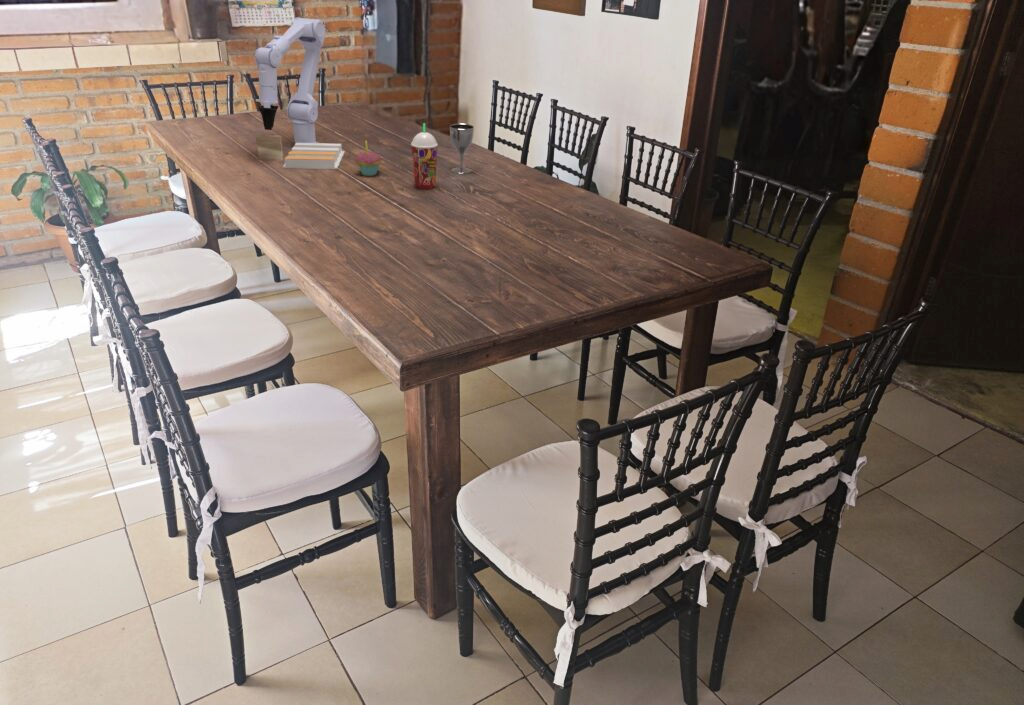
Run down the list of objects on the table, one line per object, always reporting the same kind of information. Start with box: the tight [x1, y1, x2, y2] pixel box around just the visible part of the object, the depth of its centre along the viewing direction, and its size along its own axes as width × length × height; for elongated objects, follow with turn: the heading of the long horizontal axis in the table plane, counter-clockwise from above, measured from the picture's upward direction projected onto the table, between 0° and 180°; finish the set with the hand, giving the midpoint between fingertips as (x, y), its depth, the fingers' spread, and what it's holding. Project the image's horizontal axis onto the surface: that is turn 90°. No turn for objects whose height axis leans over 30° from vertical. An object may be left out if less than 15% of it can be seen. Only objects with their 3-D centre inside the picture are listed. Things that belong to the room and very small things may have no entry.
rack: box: [282, 142, 346, 170], centre depth 262 cm, size 22×18×3 cm
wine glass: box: [449, 123, 475, 174], centre depth 256 cm, size 8×8×15 cm
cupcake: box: [355, 140, 382, 177], centre depth 248 cm, size 9×8×12 cm
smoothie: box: [410, 122, 439, 190], centre depth 237 cm, size 8×8×20 cm
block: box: [255, 134, 284, 161], centre depth 259 cm, size 2×8×8 cm, turn 94°
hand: (269, 128), depth 255 cm, fingers open, 7 cm apart
